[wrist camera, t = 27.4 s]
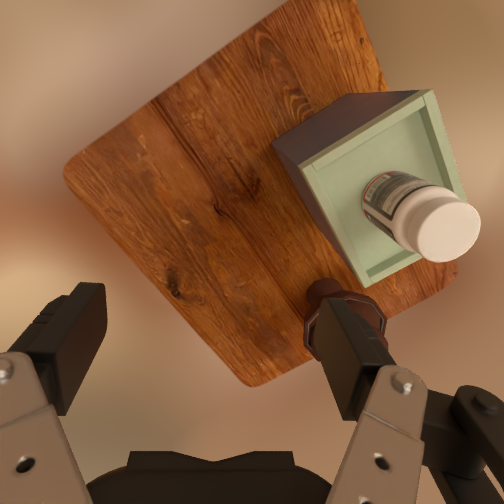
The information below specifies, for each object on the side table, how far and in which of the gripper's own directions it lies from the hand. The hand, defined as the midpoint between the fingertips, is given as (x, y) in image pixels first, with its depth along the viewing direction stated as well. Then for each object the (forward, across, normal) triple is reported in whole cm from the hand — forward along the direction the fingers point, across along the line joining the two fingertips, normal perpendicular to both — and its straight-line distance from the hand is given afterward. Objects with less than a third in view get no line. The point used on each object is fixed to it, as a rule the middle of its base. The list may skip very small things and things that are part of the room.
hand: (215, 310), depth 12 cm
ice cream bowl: (+32, -18, +18) cm, 41 cm away
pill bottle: (+16, -14, -1) cm, 21 cm away
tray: (+16, -14, -2) cm, 21 cm away
